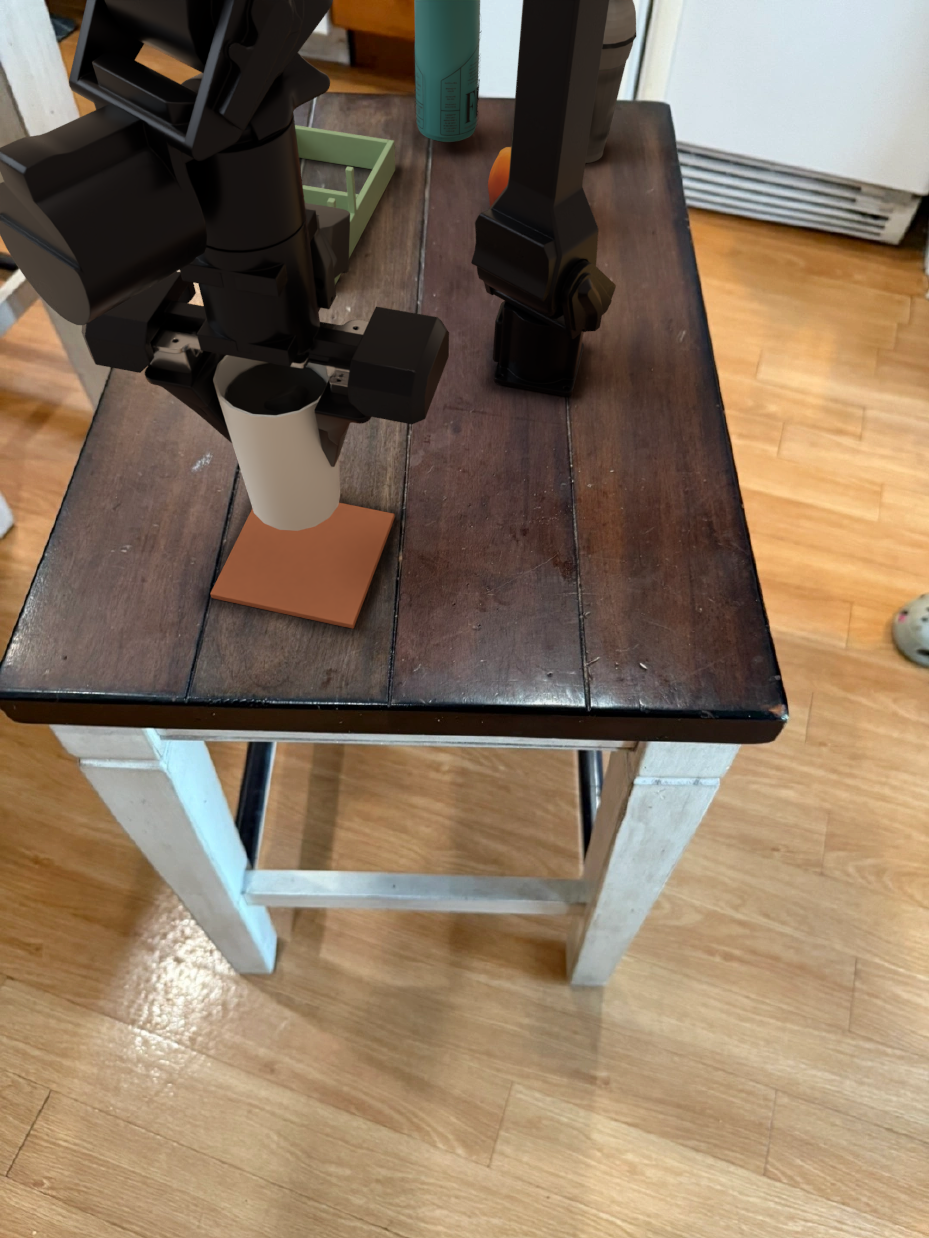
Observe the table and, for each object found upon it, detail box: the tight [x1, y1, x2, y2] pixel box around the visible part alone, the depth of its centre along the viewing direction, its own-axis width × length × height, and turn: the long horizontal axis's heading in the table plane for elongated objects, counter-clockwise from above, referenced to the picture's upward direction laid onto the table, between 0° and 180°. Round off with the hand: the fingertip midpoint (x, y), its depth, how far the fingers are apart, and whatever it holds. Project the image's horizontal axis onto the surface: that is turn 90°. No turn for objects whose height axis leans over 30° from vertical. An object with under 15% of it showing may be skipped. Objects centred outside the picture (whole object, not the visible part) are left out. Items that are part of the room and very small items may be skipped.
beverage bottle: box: [412, 0, 483, 143], centre depth 88 cm, size 6×7×20 cm
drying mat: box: [210, 502, 396, 630], centre depth 64 cm, size 10×10×1 cm
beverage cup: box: [585, 0, 637, 164], centre depth 87 cm, size 7×7×20 cm
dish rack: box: [295, 124, 396, 286], centre depth 85 cm, size 11×20×7 cm, turn 167°
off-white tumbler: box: [213, 355, 341, 531], centre depth 55 cm, size 7×7×10 cm
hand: (288, 452), depth 56 cm, fingers closed on off-white tumbler, 5 cm apart
